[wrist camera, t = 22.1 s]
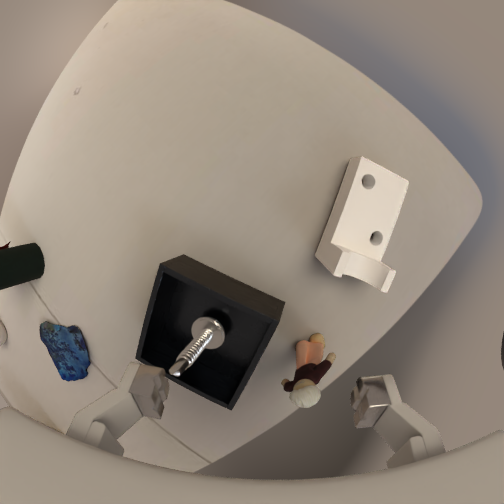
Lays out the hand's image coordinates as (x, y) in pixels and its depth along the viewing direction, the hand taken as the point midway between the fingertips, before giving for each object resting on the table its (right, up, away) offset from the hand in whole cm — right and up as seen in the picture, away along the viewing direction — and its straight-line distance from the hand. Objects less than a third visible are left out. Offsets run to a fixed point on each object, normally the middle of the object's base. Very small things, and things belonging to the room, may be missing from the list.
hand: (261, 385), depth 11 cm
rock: (-41, -16, +39) cm, 58 cm away
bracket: (+14, +10, +23) cm, 29 cm away
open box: (-6, -5, +29) cm, 30 cm away
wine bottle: (-48, +4, +37) cm, 61 cm away
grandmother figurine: (+7, -8, +27) cm, 29 cm away
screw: (-6, -5, +29) cm, 30 cm away
